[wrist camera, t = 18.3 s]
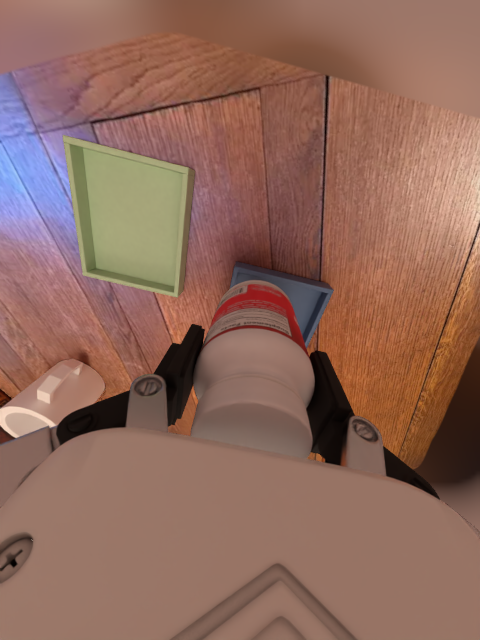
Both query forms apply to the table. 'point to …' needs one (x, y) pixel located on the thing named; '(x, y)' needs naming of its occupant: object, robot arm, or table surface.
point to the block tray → (291, 294)
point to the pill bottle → (254, 374)
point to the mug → (52, 398)
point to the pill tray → (130, 216)
